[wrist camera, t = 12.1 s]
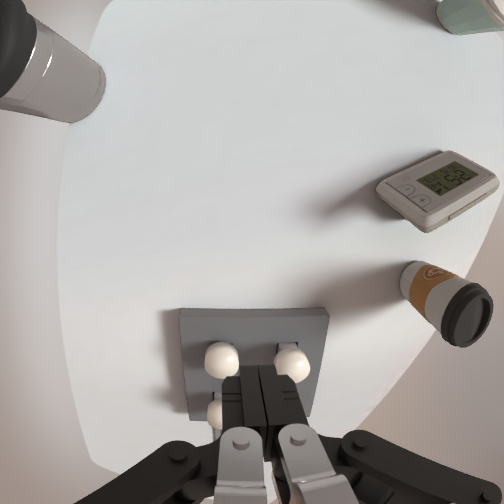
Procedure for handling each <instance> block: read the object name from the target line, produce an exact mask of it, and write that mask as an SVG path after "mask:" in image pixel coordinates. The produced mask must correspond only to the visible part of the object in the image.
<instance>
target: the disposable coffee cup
mask: <svg viewBox="0 0 504 504" xmlns="http://www.w3.org/2000/svg"><path fill="white" fill-rule="evenodd" d="M436 14H437V17H438V19H439V21H440V23H441V24H442V25H443V26H444V28H445V29H446V30H448V31H449V32H450V33H452V34H456V35H467V34H475V33H484V32H494V31H504V0H443V1H442V2H441V3H440V4H438V7H437V10H436Z"/></svg>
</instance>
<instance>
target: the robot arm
mask: <svg viewBox="0 0 504 504" xmlns="http://www.w3.org/2000/svg"><path fill="white" fill-rule="evenodd" d="M105 85H106V78H105V73H104V71H103V69H102V67H101V66H100V65H99V64H98V63H97V62H95V61H94V60H93V59H91V58H90V57H89V56H87V55H86V54H85V53H83V52H82V51H81V50H79V49H78V48H77V47H75V46H74V45H73V44H71V43H70V42H68V41H67V40H66V39H64V38H63V37H62V36H60V35H59V34H57V33H56V32H54V31H53V30H52V29H50V28H49V27H48V26H46V25H45V24H43V23H41V22H40V21H39V20H37V19H36V18H34V17H33V16H32V15H30V14H29V13H27V11H26V8H25V5H24V3H23V2H22V1H21V0H0V109H2V110H8V111H14V112H19V113H24V114H29V115H34V116H39V117H43V118H48V119H52V120H57V121H61V122H67V123H71V122H77V121H79V120H82V119H83V118H85V117H87V116H88V115H89V114H90V113H91V112H92V111H93V110H94V109H95V108H96V107H97V105H98V104H99V102H100V100H101V99H102V96H103V94H104V90H105ZM263 456H264V462H269V461H271V463H272V468H273V469H272V481H273V484H274V488H275V491H276V495H277V498H278V502H279V504H500V503H501V500H502V493H501V490H500V488H499V487H498V486H497V485H496V484H494V483H492V482H489V481H486V480H483V479H480V478H476V477H474V476H471V475H468V474H465V473H463V472H460V471H457V470H454V469H452V468H449V467H447V466H444V465H441V464H439V463H436V462H434V461H432V460H429V459H427V458H425V457H422V456H420V455H417V454H415V453H413V452H411V451H408V450H406V449H404V448H402V447H400V446H397V445H395V444H393V443H391V442H389V441H387V440H385V439H383V438H380V437H378V436H376V435H374V434H372V433H370V432H368V431H365V430H354V431H350V432H348V433H347V434H346V435H344V437H343V438H333V437H325V436H322V435H319V434H317V432H316V431H315V430H314V429H313V428H311V427H310V426H309V424H308V421H307V418H306V415H305V412H304V409H303V406H302V403H301V400H300V397H299V394H298V392H297V388H296V384H295V382H294V381H293V380H292V379H291V378H290V377H289V376H288V375H287V374H286V375H278V374H277V370H276V366H275V364H257V365H256V364H239V369H238V376H226V378H225V380H224V381H223V383H222V433H221V435H220V436H219V438H218V439H217V440H215V441H214V442H212V443H210V444H207V445H203V446H199V447H195V446H194V445H192V444H190V443H188V442H185V441H171V442H168V443H166V444H164V445H162V446H161V447H160V448H158V449H157V450H156V451H154V452H153V453H151V454H150V455H149V456H147V457H146V458H144V459H143V460H142V461H140V462H139V463H137V464H136V465H134V466H133V467H131V468H130V469H128V470H127V471H125V472H124V473H122V474H121V475H120V476H118V477H117V478H115V479H113V480H112V481H110V482H109V483H107V484H106V485H104V486H102V487H101V488H99V489H98V490H96V491H94V492H93V493H91V494H89V495H88V496H86V497H84V498H83V499H81V500H79V501H77V502H76V503H74V504H200V503H201V502H202V501H203V499H204V498H207V497H211V496H214V504H267V492H266V487H265V485H264V469H263Z"/></svg>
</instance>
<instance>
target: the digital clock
mask: <svg viewBox="0 0 504 504" xmlns="http://www.w3.org/2000/svg"><path fill="white" fill-rule="evenodd" d="M499 184H500V181H499V179H498V178H497V176H496V175H495V174H494V173H492V172H491V171H489V170H487V169H486V168H484V167H482V166H480V165H478V164H477V163H475V162H473V161H471V160H469V159H467V158H465V157H463V156H462V155H460V154H458V153H456V152H453V151H445V152H443V153H440V154H438V155H436V156H434V157H432V158H429V159H427V160H425V161H423V162H421V163H418V164H416V165H414V166H412V167H410V168H408V169H405V170H403V171H401V172H399V173H397V174H395V175H392V176H390V177H388V178H386V179H384V180H382V181H381V182H380V183H379V184H378V186H377V187H376V193H377V194H378V196H379V197H380V198H381V199H382V200H384V201H385V202H386V203H387V204H389V205H390V206H391V207H392V208H394V209H395V210H396V211H397V212H399V213H400V214H401V215H402V216H403V217H404V218H405V220H408V221H409V222H411V223H412V224H413V225H414V226H415V227H417V228H418V229H419V230H421V231H422V232H424V233H429V232H431V231H433V230H435V229H437V228H438V227H440V226H442V225H444V224H445V223H447V222H449V221H450V220H452V219H454V218H455V217H457V216H458V215H460V214H462V213H463V212H465V211H466V210H468V209H470V208H471V207H473V206H474V205H476V204H478V203H479V202H481V201H482V200H484V199H485V198H487V197H488V196H490V195H491V194H493V193H494V192H495V191H496V190H497V189H498V187H499Z"/></svg>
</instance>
